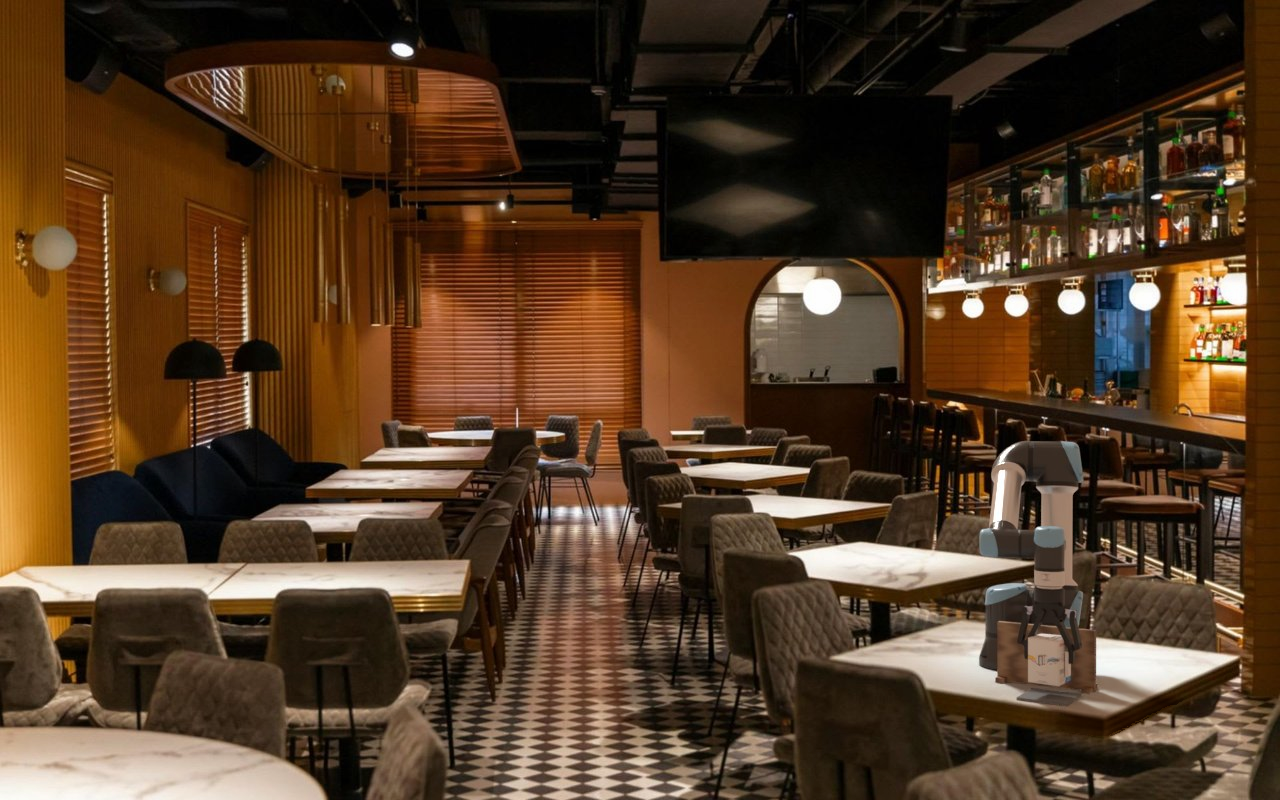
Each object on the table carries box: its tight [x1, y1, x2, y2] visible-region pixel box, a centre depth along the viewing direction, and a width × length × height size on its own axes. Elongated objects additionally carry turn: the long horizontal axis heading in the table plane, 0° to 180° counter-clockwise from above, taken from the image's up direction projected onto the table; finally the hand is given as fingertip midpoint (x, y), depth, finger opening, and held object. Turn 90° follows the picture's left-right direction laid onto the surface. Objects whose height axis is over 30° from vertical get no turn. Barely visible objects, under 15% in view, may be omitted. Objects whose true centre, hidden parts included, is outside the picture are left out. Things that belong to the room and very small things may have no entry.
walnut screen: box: [995, 621, 1099, 694], centre depth 370 cm, size 26×7×16 cm, turn 57°
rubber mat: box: [1016, 687, 1083, 707], centre depth 356 cm, size 13×13×1 cm
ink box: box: [1028, 634, 1071, 686], centre depth 355 cm, size 9×8×12 cm
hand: (1049, 674), depth 356 cm, fingers closed on ink box, 9 cm apart
